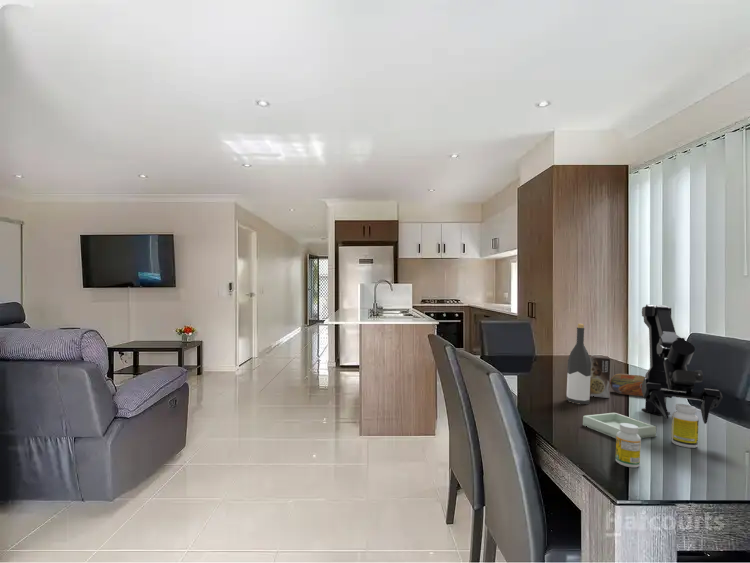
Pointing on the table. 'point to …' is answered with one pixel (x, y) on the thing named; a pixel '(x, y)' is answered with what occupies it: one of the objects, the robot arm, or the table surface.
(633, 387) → the tin
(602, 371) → the coffee box
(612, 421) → the tray
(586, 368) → the wine bottle
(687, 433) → the pill bottle
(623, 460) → the supplement bottle
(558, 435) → the table surface
